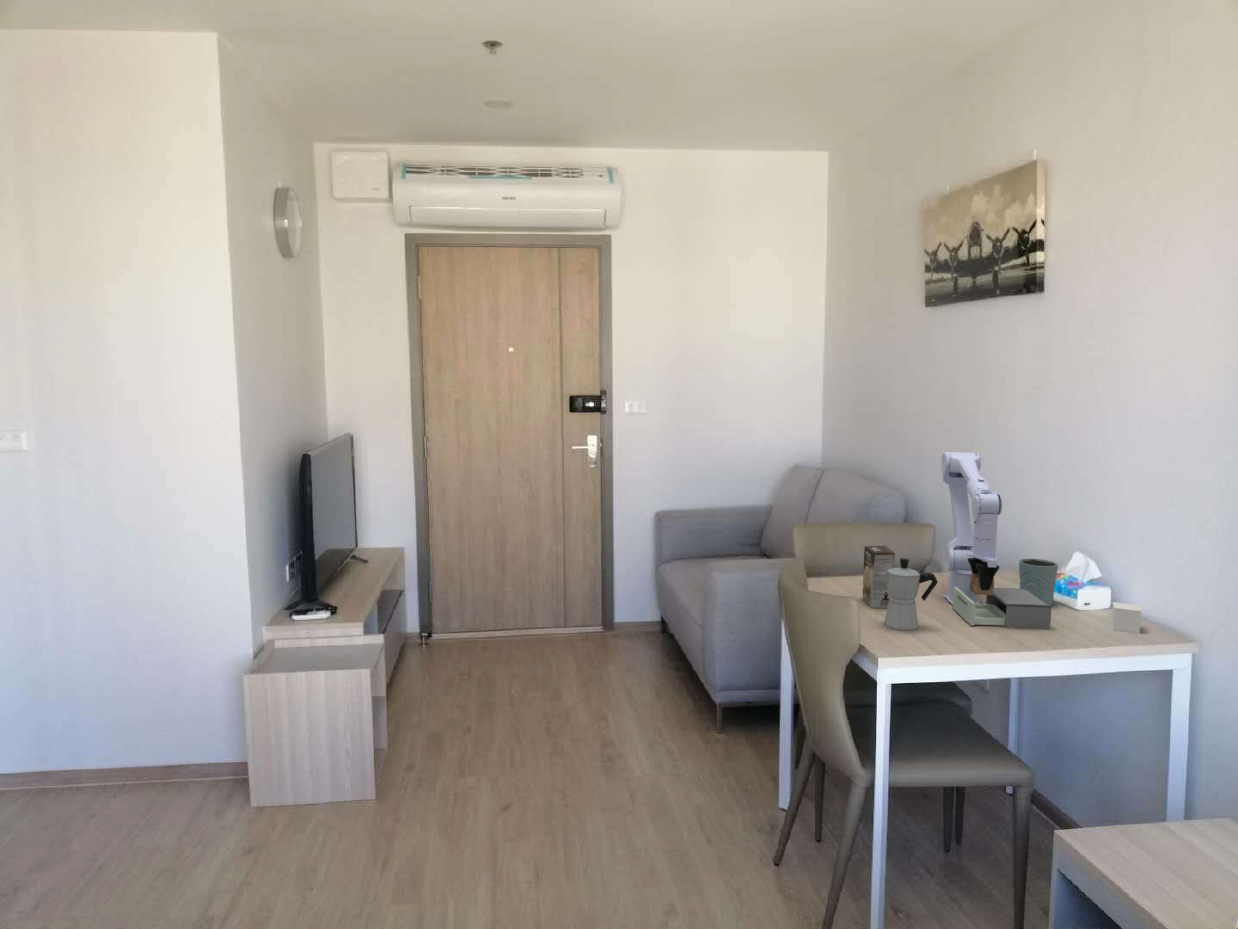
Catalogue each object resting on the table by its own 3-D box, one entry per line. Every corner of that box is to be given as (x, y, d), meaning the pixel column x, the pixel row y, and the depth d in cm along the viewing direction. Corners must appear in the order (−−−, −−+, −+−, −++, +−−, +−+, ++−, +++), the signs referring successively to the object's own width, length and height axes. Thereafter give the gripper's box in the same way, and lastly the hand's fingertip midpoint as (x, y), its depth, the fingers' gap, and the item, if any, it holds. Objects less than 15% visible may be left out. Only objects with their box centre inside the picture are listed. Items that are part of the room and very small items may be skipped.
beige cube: (1137, 627, 220) (1139, 605, 219) (1139, 633, 214) (1141, 611, 213) (1110, 623, 222) (1112, 601, 221) (1112, 630, 217) (1114, 607, 216)
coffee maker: (879, 629, 216) (882, 561, 214) (873, 619, 225) (876, 554, 223) (939, 632, 214) (942, 564, 212) (931, 622, 223) (934, 556, 221)
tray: (951, 607, 235) (953, 587, 234) (992, 609, 234) (994, 588, 233) (970, 625, 219) (971, 603, 218) (1014, 627, 218) (1015, 604, 217)
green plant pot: (1027, 607, 236) (1030, 566, 235) (1009, 597, 246) (1012, 558, 245) (1062, 607, 236) (1065, 566, 235) (1043, 597, 246) (1046, 557, 245)
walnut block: (969, 589, 228) (970, 573, 227) (987, 590, 228) (988, 574, 227) (975, 594, 223) (976, 578, 223) (993, 595, 223) (994, 578, 222)
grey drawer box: (985, 609, 234) (986, 587, 233) (1026, 611, 233) (1027, 589, 232) (1006, 627, 218) (1007, 604, 217) (1050, 629, 217) (1051, 605, 216)
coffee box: (861, 599, 244) (863, 545, 242) (883, 599, 244) (885, 545, 242) (870, 608, 235) (873, 552, 233) (893, 608, 235) (896, 552, 233)
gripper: (960, 532, 231) (958, 579, 233) (978, 543, 217) (975, 594, 219) (987, 532, 231) (984, 580, 232) (1006, 543, 216) (1003, 595, 218)
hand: (981, 587), depth 225 cm, fingers closed on walnut block, 5 cm apart
